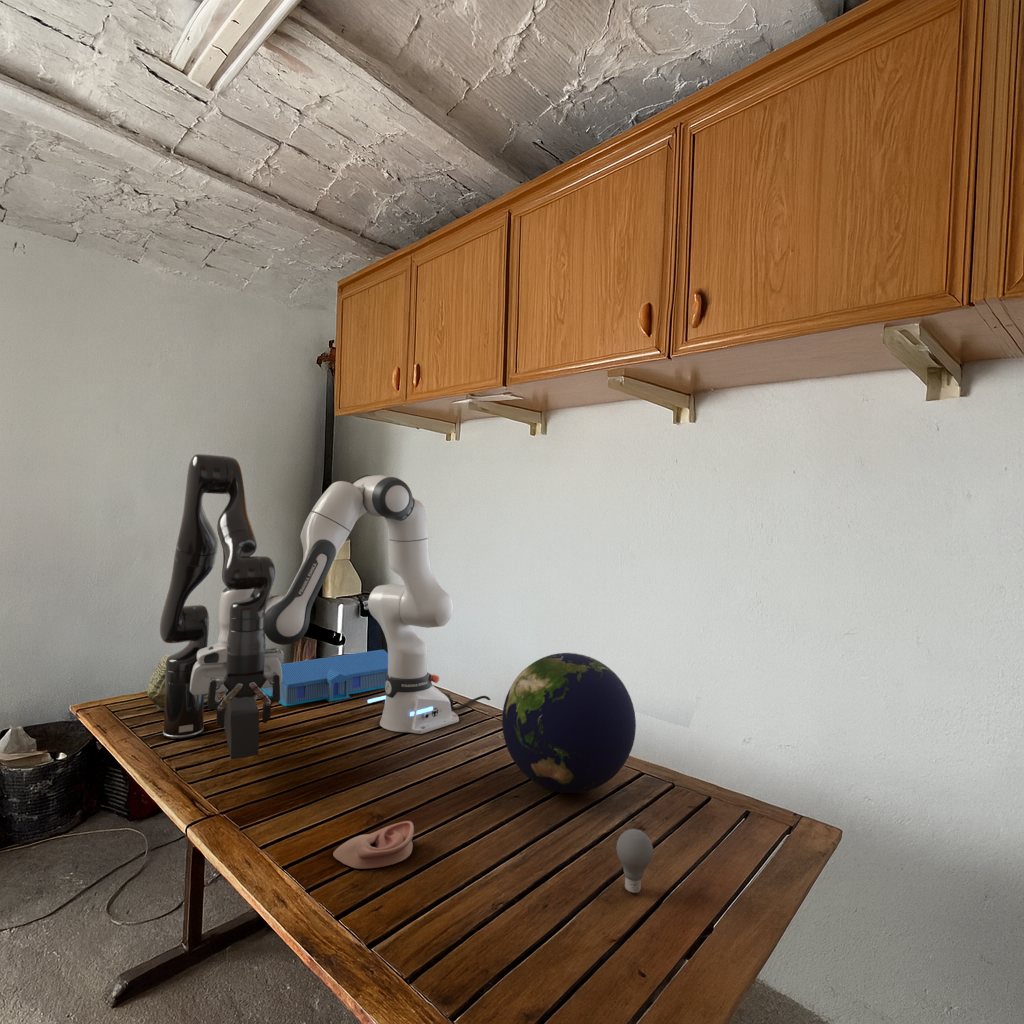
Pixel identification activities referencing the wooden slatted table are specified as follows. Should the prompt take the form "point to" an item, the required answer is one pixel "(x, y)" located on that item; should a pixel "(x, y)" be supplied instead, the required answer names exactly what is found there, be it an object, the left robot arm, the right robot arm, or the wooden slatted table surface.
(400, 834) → the anatomical model
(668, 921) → the wooden slatted table surface
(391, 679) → the right robot arm
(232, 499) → the left robot arm
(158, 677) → the fossil
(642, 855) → the light bulb
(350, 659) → the model building
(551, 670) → the globe
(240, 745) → the bar
